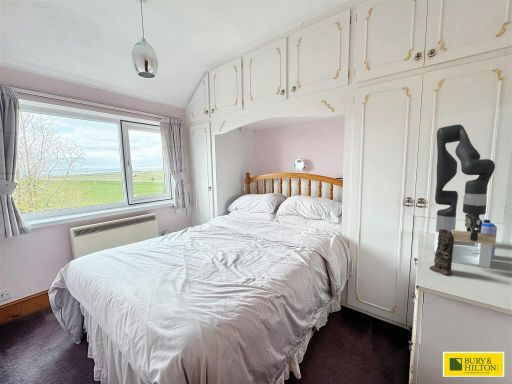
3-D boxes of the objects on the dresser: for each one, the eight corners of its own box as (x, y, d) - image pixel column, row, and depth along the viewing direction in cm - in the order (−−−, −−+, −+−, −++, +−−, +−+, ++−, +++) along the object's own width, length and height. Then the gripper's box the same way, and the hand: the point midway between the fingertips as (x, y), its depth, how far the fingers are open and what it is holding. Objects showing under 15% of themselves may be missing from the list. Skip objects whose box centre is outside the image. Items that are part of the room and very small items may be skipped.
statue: (429, 269, 103) (431, 228, 101) (438, 266, 105) (441, 226, 103) (445, 276, 96) (449, 232, 94) (455, 273, 99) (458, 230, 97)
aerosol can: (499, 259, 112) (502, 221, 110) (481, 258, 113) (484, 221, 111) (486, 254, 119) (489, 218, 117) (469, 253, 121) (472, 218, 119)
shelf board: (451, 236, 108) (451, 229, 107) (492, 241, 99) (492, 234, 99) (452, 239, 103) (452, 232, 103) (494, 245, 95) (495, 237, 94)
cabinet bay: (433, 252, 123) (435, 231, 122) (481, 259, 113) (483, 236, 112) (437, 260, 113) (439, 237, 112) (489, 268, 103) (492, 243, 102)
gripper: (459, 200, 107) (456, 233, 109) (468, 205, 95) (465, 242, 97) (480, 201, 103) (477, 235, 105) (492, 206, 91) (488, 244, 93)
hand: (471, 238), depth 101 cm, fingers closed on shelf board, 5 cm apart
